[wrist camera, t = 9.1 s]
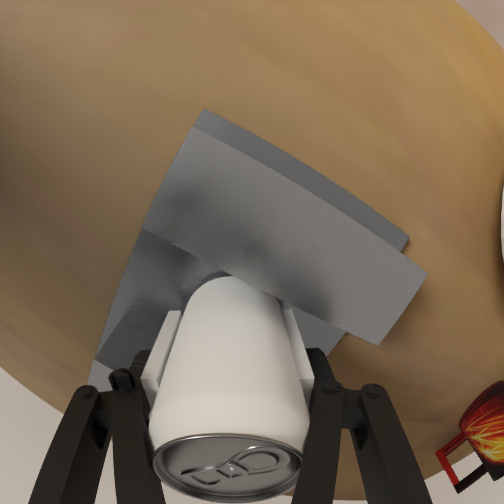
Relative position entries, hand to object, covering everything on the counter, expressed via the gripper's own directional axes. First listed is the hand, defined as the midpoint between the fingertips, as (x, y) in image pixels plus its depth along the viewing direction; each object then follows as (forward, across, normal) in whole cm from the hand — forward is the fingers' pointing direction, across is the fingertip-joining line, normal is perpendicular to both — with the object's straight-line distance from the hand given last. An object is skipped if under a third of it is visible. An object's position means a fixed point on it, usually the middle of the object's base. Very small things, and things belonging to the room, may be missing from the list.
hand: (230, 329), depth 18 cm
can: (+2, 0, 0) cm, 2 cm away
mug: (+3, +34, -22) cm, 41 cm away
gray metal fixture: (+3, 0, 0) cm, 3 cm away
